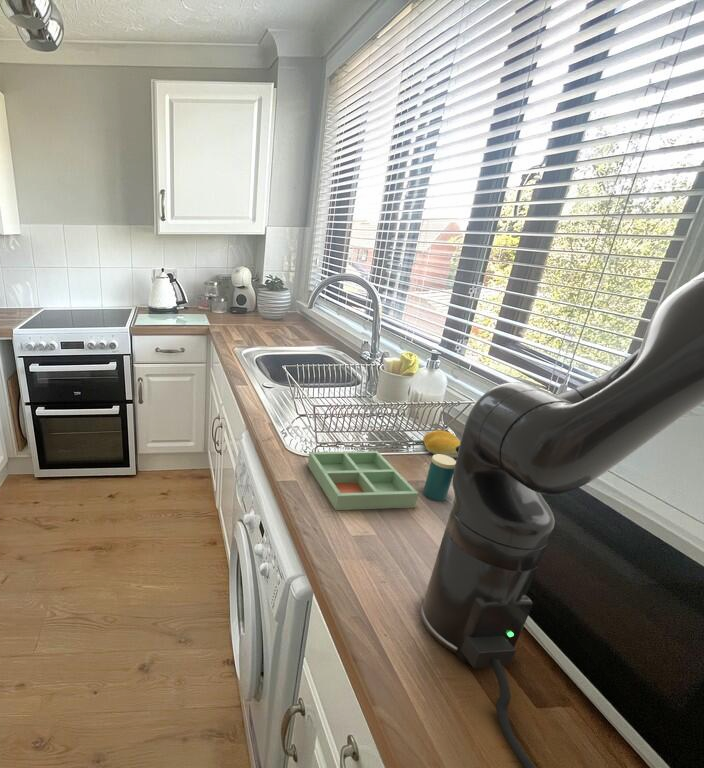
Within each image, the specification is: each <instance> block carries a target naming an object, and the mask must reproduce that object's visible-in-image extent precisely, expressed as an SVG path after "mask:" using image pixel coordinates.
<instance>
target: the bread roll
mask: <svg viewBox="0 0 704 768" xmlns="http://www.w3.org/2000/svg"><path fill="white" fill-rule="evenodd" d="M422 441H423V444H424V445H425V446H424V447H425V449H426V450H427V452H429V453H431V454H433V455H435V454H442V455H446V456H449V457H451V458H453V459H457V455H458V452H457V451H456V447H457V446H459V445H460V442H461V440H460V439H459V438H458V437H457V436H456V435H455V434H454V433H451V432H449V431H446V430H439V429H438V430H433V431H429V432H427V433H426V434H425V435H424V436H423V439H422Z"/></svg>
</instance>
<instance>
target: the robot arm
mask: <svg viewBox="0 0 704 768" xmlns="http://www.w3.org/2000/svg"><path fill="white" fill-rule="evenodd" d="M702 404H704V271H702V272H700V273H699V274H698V275H696V276H695V277H694V278H693V277H692V279H690V280H689V281H688V282H686V283H684V284H682V285H681V286H679V287H678V288H677V289H675V290H674V291H673V292H671V293H670V294H669V295H668V296H667V297H666V298H664V299H663V300H662V302H661V303H660V304H659V305H658V306H657V307H656V309H655V310H654V311H653V314H652V316H651V318H650V320H649V322H648V325H647V326H646V330H645V332H644V335H643V339H642V342H641V345H640V347H639V348H638V349H636V350H635V351H634V352H632V353H631V355H629V356H627V358H625V359H624V360H623V361H621V362H620V363H618V364H617V365H616V366H614V367H613V368H611V369H610V370H608V371H607V372H605V373H604V374H602V375H600V376H598V377H596V378H594V379H592V380H590V381H588V382H586V383H584V384H581V385H579V386H577V387H575V388H572V389H569V390H567V391H564V392H561V393H558V394H554V393H551V392H549V391H547V390H545V389H542V388H540V387H537V386H535V385H532V384H529V383H525V382H517V381H515V382H513V381H512V382H511V381H510V382H504V383H501V384H499V385H496V386H494V387H492V388H491V389H488V390H487V391H486V392H485V393H484V394H482V395H481V396H480V397H479V399H478V400H477V401H476V402H475V403H474V405H473V407H472V408H471V410H470V411H469V414H468V415H467V418H466V421H465V423H464V426H463V430H462V433H461V438H460V445H459V446H457V447H456V451H457V452H458V455H457V458H456V459H455V461H456V464H455V469H454V473H453V477H452V488H453V492H454V499H453V503H452V507H451V509H450V513H449V517H448V520H447V524H446V526H445V530H444V532H443V536H442V540H441V542H440V544H439V548H438V552H437V556H436V558H435V562H434V565H433V568H432V572H431V574H430V579H429V581H428V584H427V588H426V592H425V595H424V598H423V600H422V602H421V606H420V609H419V614H420V615H419V616H420V619H421V622H422V624H423V626H424V628H425V629H426V631H427V632H428V633H429V634H430V635H431V637H432V638H433V639H435V641H436V642H438V644H440V645H442V647H444V648H445V649H447V650H448V651H450V652H452V653H453V654H454V655H456V657H457V658H458V660H459V661H460V662H461V663H463V664H470V665H471V667H472V668H473V669H484V668H486V669H487V668H492V669H493V672H494V674H495V676H496V679H497V683H498V688H499V696H498V699H497V701H496V704H495V712H496V716H497V720H498V722H499V726H500V729H501V732H502V733H503V734H502V735H504V737H505V739H506V742H507V743H508V745H509V746H510V748H511V750H512V752H513V753H514V755H515V757H516V759H518V761H519V763H520V764H521V765H522V767H523V768H536V766H535V765H534V763H533V762H532V761H531V760H530V757H528V755H527V753H526V752H525V750H523V747H522V746H521V745H520V743H519V741H518V740H517V737H516V736H515V734H514V731H513V729H512V726H511V724H510V723H511V722H510V720H509V716H508V713H507V712H508V711H507V710H508V707H509V705H510V702H511V689H510V684H509V681H508V678H507V676H506V673H505V671H504V667H510V666H511V663H512V661H513V658H514V657H515V653H516V652H517V650H516V649H515V647H516V645H517V642H518V640H519V638H520V635H521V633H522V631H523V628H524V626H525V624H526V622H527V619H528V617H529V614H530V612H531V610H532V608H533V605H534V602H533V601H532V600H531V598H530V597H529V596H528V595H527V593H528V591H529V589H530V587H531V584H532V583H533V579H534V577H535V574H536V572H537V569H538V567H539V564H540V563H541V560H542V558H543V555H544V553H545V551H546V549H547V546H548V544H549V542H550V539H551V537H552V535H553V532H554V529H555V526H556V525H555V524H556V523H555V522H556V520H555V515H554V513H553V511H552V509H551V508H550V506H549V504H548V503H547V501H546V499H545V498H544V497H543V495H559V494H564V493H569V492H571V491H574V490H576V489H579V488H581V487H583V486H585V485H587V484H589V483H591V482H593V481H594V480H596V479H598V478H600V477H601V476H603V475H604V474H606V473H607V472H609V471H610V470H611V469H612V468H614V467H615V466H617V465H618V464H619V463H621V462H622V461H624V460H625V459H627V458H628V457H629V456H631V455H632V454H633V453H635V452H636V451H637V450H639V449H640V448H641V447H643V446H644V445H645V444H647V443H649V441H651V440H652V439H653V438H655V437H656V436H657V435H659V434H660V433H661V432H663V431H664V430H665V429H667V428H668V427H669V426H671V425H672V424H674V423H675V422H676V421H678V420H679V419H681V418H682V417H684V416H685V415H687V414H688V413H690V412H691V411H693V410H694V409H696V408H697V407H699V406H700V405H702ZM542 494H543V495H542Z"/></svg>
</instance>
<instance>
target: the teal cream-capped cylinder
mask: <svg viewBox="0 0 704 768" xmlns="http://www.w3.org/2000/svg"><path fill="white" fill-rule="evenodd" d="M455 464H456V459H455V458H451V457H449V456H446V455H442V454H433V455H432V457H431V461H430V464H429V467H428V472H427V476H426V479H425V484H424V487H423V490H422V491H423V494H424V495H425V496H426V497H427V498H428V499H431V500H434V501H438V502H443V501H446V499H447V497H448V494H449V491H450V487H451V483H452V481H453V473H454V469H455Z"/></svg>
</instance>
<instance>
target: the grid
mask: <svg viewBox="0 0 704 768" xmlns="http://www.w3.org/2000/svg"><path fill="white" fill-rule="evenodd" d="M307 466H308V469H309V470H310V472H311V473H312V474H313V476H314V478H315V479H316V481H317V483H318V484H319V486H320V488H321V489H322V491H323V492H324V494H325V495H326V497H327V499H328V500H329V503H331V505H332V506H333V508H334V510H335V511H349V510H350V511H351V510H352V511H354V510H379V509H409V508H410V509H411V508H412V509H413V508H416V504H417V501H418V499H419V498H418V497H419V492H418V491H417V490H416V489H415V488H414V487H413V486H412V485H411V484H410V483H409V481H408V480H407V479H406V478H405V477H404V476H402V475H401V473H400V472H399V471H398V470H397V469H396V468H394V466H393V465H392V464H391V463H390V462H389V461H388V460H387V459H385V457H384V456H383V455H382V454H381V453H380V452H379V451H378V450H366V451H365V450H363V451H362V450H361V451H360V450H359V451H316V452H315V451H314V452H313V451H311V452H309V453H308V459H307Z"/></svg>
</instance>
